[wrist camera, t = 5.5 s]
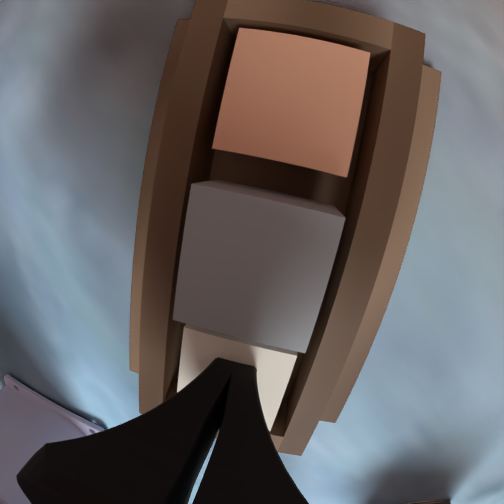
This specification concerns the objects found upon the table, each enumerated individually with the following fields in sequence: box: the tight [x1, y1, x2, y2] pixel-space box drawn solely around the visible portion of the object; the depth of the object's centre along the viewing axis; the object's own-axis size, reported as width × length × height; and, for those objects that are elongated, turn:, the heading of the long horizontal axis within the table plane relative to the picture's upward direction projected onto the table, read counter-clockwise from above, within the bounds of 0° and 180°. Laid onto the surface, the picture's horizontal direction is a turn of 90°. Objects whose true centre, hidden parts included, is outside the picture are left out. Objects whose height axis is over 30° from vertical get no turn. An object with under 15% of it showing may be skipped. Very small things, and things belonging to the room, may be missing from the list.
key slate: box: [173, 179, 345, 353], centre depth 9 cm, size 4×4×2 cm
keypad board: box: [130, 0, 441, 456], centre depth 10 cm, size 10×15×3 cm, turn 169°
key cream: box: [177, 324, 297, 431], centre depth 11 cm, size 4×4×2 cm
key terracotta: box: [212, 28, 370, 177], centre depth 9 cm, size 4×4×2 cm
